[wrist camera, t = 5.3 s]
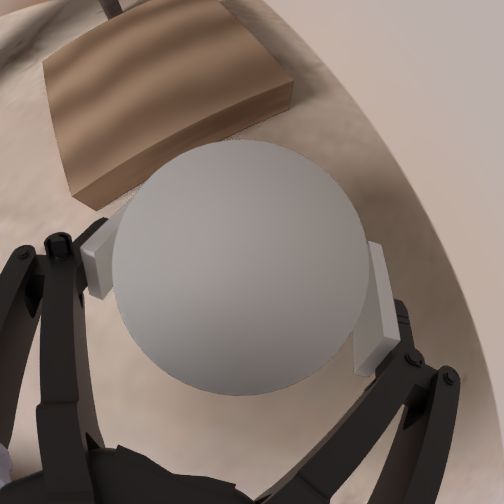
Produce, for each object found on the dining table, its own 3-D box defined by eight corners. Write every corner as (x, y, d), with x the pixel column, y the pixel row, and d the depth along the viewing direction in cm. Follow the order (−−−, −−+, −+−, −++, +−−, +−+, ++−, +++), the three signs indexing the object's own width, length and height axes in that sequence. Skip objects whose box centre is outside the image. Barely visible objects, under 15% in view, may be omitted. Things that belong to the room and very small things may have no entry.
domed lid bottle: (180, 265, 22) (79, 215, 8) (266, 217, 23) (284, 105, 9) (228, 353, 21) (188, 434, 8) (316, 304, 22) (410, 309, 8)
